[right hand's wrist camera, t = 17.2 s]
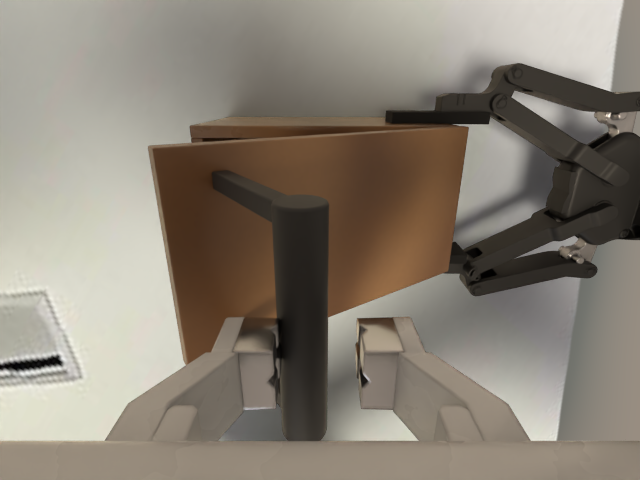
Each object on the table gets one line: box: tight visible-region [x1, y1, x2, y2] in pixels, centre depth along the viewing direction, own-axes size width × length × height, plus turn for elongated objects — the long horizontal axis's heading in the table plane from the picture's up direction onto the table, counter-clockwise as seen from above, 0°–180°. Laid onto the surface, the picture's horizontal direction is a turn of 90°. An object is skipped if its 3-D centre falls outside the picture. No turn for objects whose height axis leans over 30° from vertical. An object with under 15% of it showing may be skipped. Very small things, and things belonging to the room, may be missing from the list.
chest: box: [190, 117, 457, 143], centre depth 29 cm, size 17×10×10 cm, turn 90°
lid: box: [148, 126, 469, 441], centre depth 17 cm, size 18×10×8 cm
